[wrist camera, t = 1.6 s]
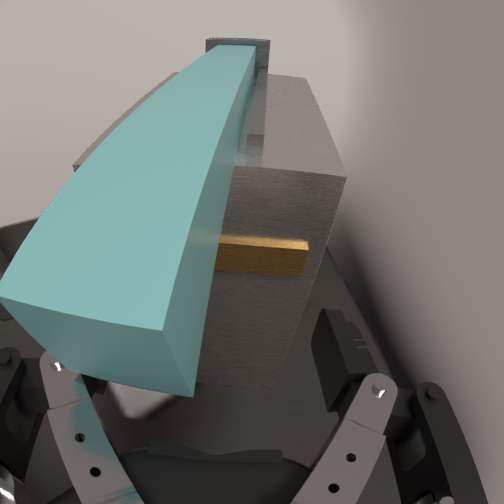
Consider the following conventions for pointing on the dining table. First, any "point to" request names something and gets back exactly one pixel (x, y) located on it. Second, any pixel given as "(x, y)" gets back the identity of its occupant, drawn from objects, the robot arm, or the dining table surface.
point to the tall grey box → (266, 226)
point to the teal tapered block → (139, 234)
